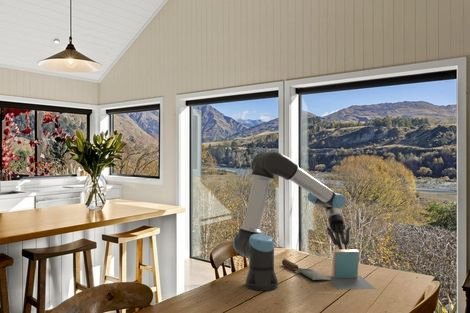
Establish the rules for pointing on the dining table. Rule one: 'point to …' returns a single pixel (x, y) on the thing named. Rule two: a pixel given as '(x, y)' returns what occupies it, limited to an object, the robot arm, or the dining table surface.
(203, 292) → the dining table surface
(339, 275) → the tile
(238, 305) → the dining table surface
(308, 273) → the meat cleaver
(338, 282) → the mat
